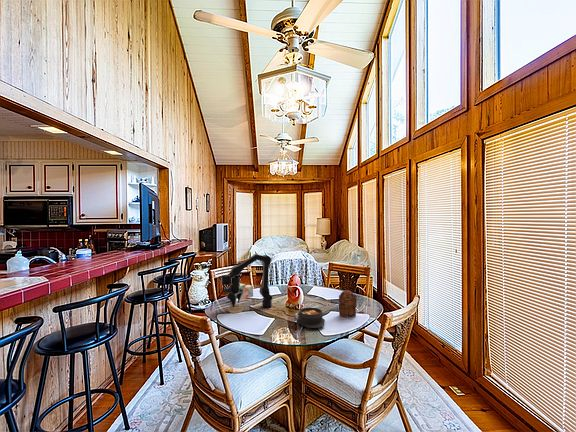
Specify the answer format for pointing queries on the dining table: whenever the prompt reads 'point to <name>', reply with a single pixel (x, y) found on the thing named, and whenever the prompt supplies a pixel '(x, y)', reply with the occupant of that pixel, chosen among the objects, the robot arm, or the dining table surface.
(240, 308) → the wooden bead
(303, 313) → the casserole
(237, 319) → the dining table surface
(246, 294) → the stack of blocks
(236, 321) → the dining table surface
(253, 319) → the dining table surface
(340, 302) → the wooden figurine
